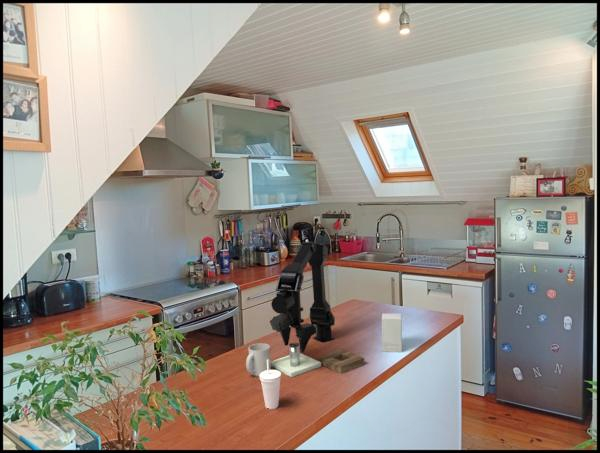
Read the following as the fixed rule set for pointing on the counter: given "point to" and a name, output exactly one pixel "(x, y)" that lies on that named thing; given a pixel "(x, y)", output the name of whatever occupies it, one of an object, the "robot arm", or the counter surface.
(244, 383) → the counter surface
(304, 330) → the robot arm
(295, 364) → the pin
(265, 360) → the cup
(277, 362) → the tray
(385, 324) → the supplement box
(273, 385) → the smoothie
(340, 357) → the socket
